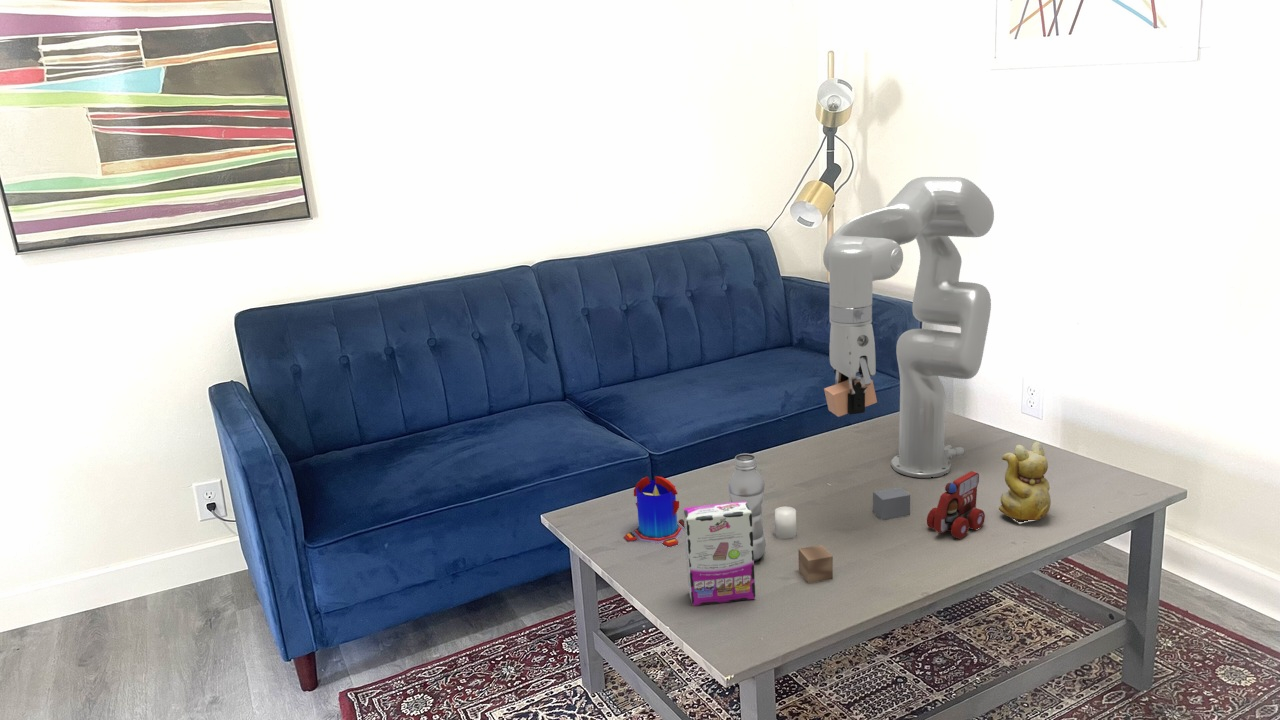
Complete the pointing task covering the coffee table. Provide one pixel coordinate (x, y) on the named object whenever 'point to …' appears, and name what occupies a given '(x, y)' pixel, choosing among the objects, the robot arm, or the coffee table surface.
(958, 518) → the toy fire truck
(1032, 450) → the decorative figurine
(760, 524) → the plastic bottle
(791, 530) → the cream cylinder
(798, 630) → the coffee table surface
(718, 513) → the candy bar box
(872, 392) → the terracotta long brick
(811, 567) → the walnut square block
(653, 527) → the fantasy tower
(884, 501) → the grey short brick
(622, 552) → the coffee table surface
